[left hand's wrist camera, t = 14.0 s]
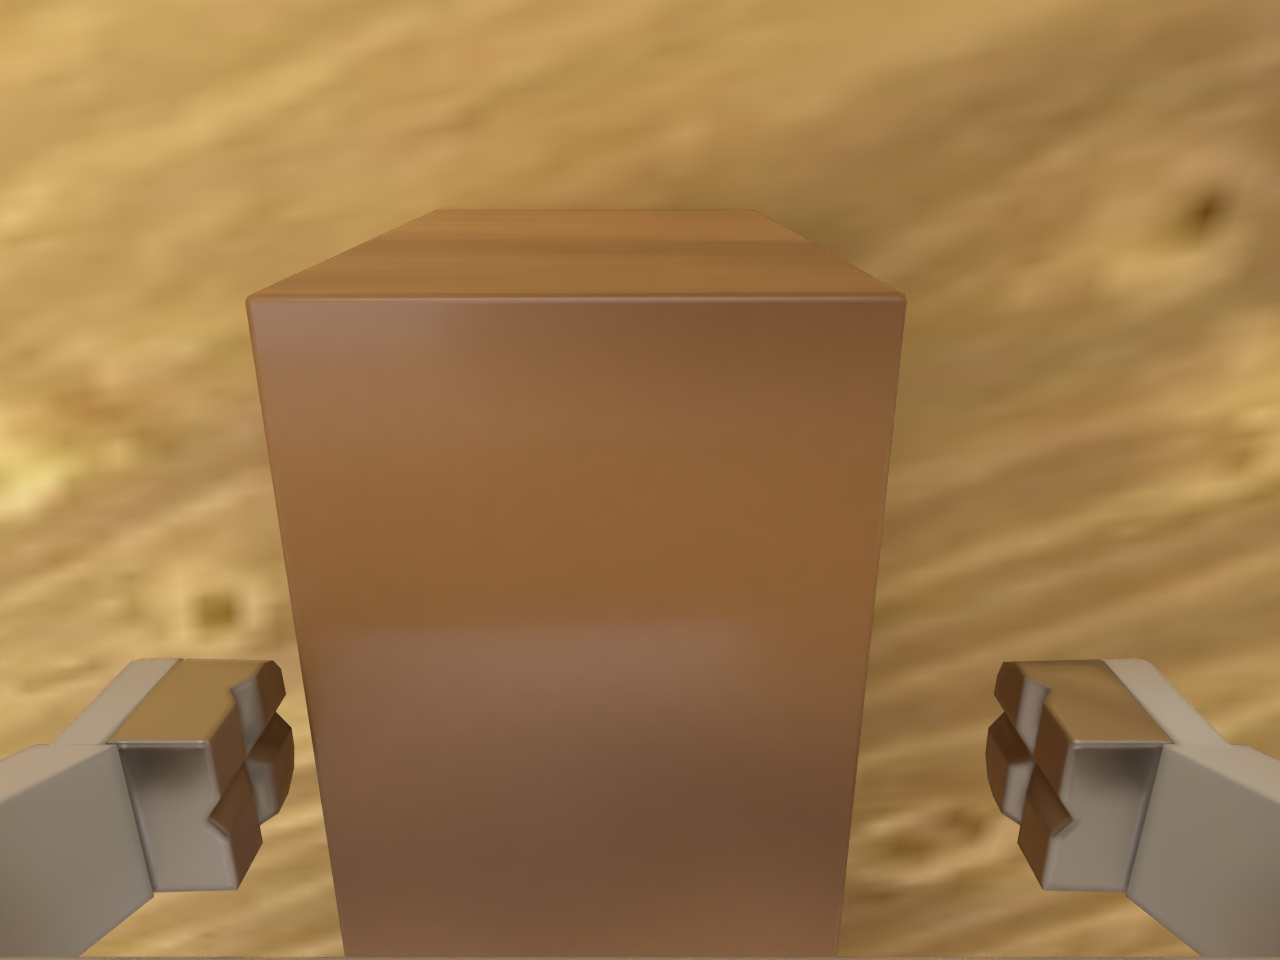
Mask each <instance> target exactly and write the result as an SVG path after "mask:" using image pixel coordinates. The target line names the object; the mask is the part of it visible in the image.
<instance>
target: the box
mask: <svg viewBox="0 0 1280 960" xmlns="http://www.w3.org/2000/svg"><path fill="white" fill-rule="evenodd" d="M245 304H246V310H247V317H248V323H249V330H250V336H251V343H252V349H253V356H254V363H255V369H256V376H257V382H258V389H259V395H260V402H261V409H262V415H263V422H264V428H265V435H266V441H267V448H268V454H269V461H270V468H271V474H272V481H273V487H274V494H275V500H276V507H277V514H278V520H279V527H280V533H281V540H282V546H283V553H284V559H285V566H286V573H287V579H288V586H289V592H290V599H291V605H292V612H293V619H294V625H295V632H296V638H297V645H298V651H299V658H300V664H301V671H302V678H303V684H304V691H305V697H306V704H307V710H308V717H309V723H310V730H311V737H312V743H313V750H314V756H315V763H316V769H317V776H318V783H319V789H320V796H321V802H322V809H323V815H324V822H325V828H326V835H327V842H328V848H329V855H330V861H331V868H332V874H333V881H334V888H335V894H336V901H337V907H338V914H339V920H340V927H341V933H342V940H343V947H344V953H345V957H837V951H838V941H839V932H840V922H841V913H842V904H843V894H844V885H845V875H846V866H847V857H848V847H849V838H850V828H851V819H852V809H853V800H854V791H855V781H856V772H857V762H858V753H859V744H860V734H861V725H862V715H863V706H864V697H865V687H866V678H867V668H868V659H869V649H870V640H871V631H872V621H873V612H874V602H875V593H876V584H877V574H878V565H879V555H880V546H881V537H882V527H883V518H884V508H885V499H886V490H887V480H888V471H889V461H890V452H891V442H892V433H893V424H894V414H895V405H896V395H897V386H898V377H899V367H900V358H901V348H902V339H903V330H904V320H905V311H906V298H905V295H904V294H903V293H901V292H899V291H897V290H896V289H894V288H892V287H890V286H888V285H887V284H885V283H883V282H881V281H880V280H878V279H876V278H874V277H872V276H871V275H869V274H867V273H865V272H864V271H862V270H860V269H858V268H857V267H855V266H853V265H851V264H849V263H848V262H846V261H844V260H842V259H841V258H839V257H837V256H835V255H833V254H832V253H830V252H828V251H826V250H825V249H823V248H821V247H819V246H817V245H816V244H814V243H812V242H810V241H809V240H807V239H805V238H803V237H802V236H800V235H798V234H796V233H794V232H793V231H791V230H789V229H787V228H786V227H784V226H782V225H780V224H778V223H777V222H775V221H773V220H771V219H770V218H768V217H766V216H764V215H762V214H761V213H759V212H757V211H755V210H435V211H433V212H431V213H428V214H426V215H424V216H422V217H420V218H417V219H415V220H413V221H411V222H409V223H407V224H404V225H402V226H400V227H398V228H396V229H393V230H391V231H389V232H387V233H385V234H382V235H380V236H378V237H376V238H374V239H372V240H369V241H367V242H365V243H363V244H361V245H358V246H356V247H354V248H352V249H350V250H348V251H345V252H343V253H341V254H339V255H337V256H334V257H332V258H330V259H328V260H326V261H324V262H321V263H319V264H317V265H315V266H313V267H310V268H308V269H306V270H304V271H302V272H299V273H297V274H295V275H293V276H291V277H289V278H286V279H284V280H282V281H280V282H278V283H275V284H273V285H271V286H269V287H267V288H265V289H262V290H260V291H258V292H256V293H254V294H251V295H249V296H247V299H246V303H245Z"/></svg>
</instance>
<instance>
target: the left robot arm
mask: <svg viewBox="0 0 1280 960" xmlns="http://www.w3.org/2000/svg"><path fill="white" fill-rule="evenodd" d="M285 695H286V692H285V687H284V682H283V677H282V672H281V668H280V667H279V666H278V665H277V664H276V663H275V662H274V661H273V660H222V659H185V660H184V659H181V658H161V659H140V660H135V661H131V662H130V663H129V664H128V665H127V666H126V667H125V668H124V669H123V670H122V672H121V673H120V674H119V675H118V676H117V677H116V678H115V679H114V680H113V681H112V682H111V683H110V684H109V685H108V686H107V687H106V688H105V689H104V690H103V691H102V692H101V693H100V694H99V695H98V696H97V697H96V698H95V699H94V700H93V701H92V702H91V703H90V704H89V705H88V706H87V707H86V708H85V710H84V711H83V712H82V713H81V714H80V715H79V716H78V717H77V718H76V719H75V720H74V721H73V722H72V723H71V724H70V725H69V726H68V727H67V728H66V729H65V730H64V731H63V732H62V733H61V734H60V735H59V736H58V737H57V738H56V739H55V740H54V741H53V742H52V743H51V744H36V745H33V746H31V747H29V748H27V749H25V750H22V751H20V752H18V753H16V754H14V755H11V756H9V757H7V758H5V759H3V760H0V960H1280V761H1279V760H1277V759H1275V758H1273V757H1271V756H1269V755H1266V754H1264V753H1262V752H1260V751H1258V750H1255V749H1253V748H1251V747H1249V746H1247V745H1245V744H1229V743H1228V742H1227V741H1226V740H1225V739H1224V738H1223V737H1222V736H1221V735H1220V734H1219V733H1218V732H1217V731H1216V730H1215V729H1214V728H1213V727H1212V726H1211V725H1210V724H1209V723H1208V722H1207V721H1206V720H1205V719H1204V718H1203V717H1202V716H1201V714H1200V713H1199V712H1198V711H1197V710H1196V709H1195V708H1194V707H1193V706H1192V705H1191V704H1190V703H1189V702H1188V701H1187V700H1186V699H1185V698H1184V697H1183V696H1182V695H1181V694H1180V693H1179V692H1178V691H1177V690H1176V689H1175V688H1174V687H1173V686H1172V685H1171V684H1170V683H1169V682H1168V681H1167V679H1166V678H1165V677H1164V676H1163V675H1162V674H1161V673H1160V672H1159V671H1158V670H1157V669H1156V668H1155V667H1154V666H1153V665H1152V664H1151V663H1150V662H1147V661H1145V660H1142V659H1140V658H1120V659H1094V660H1061V661H1021V662H1003V664H1002V666H1001V668H1000V671H999V673H998V675H997V680H996V686H995V692H994V695H995V697H996V698H997V700H998V701H999V703H1000V705H1001V706H1002V708H1003V710H1004V713H1003V714H1002V715H1001V716H1000V717H999V718H998V719H997V720H996V721H995V722H994V723H993V724H992V725H991V726H990V727H989V728H988V736H987V744H986V752H985V755H986V766H987V777H988V781H989V784H990V788H991V791H992V794H993V797H994V799H995V801H996V803H997V805H998V807H999V809H1000V811H1001V813H1003V814H1004V815H1006V816H1007V817H1009V818H1010V819H1012V820H1013V821H1015V822H1016V823H1018V824H1019V825H1020V831H1019V836H1018V842H1017V843H1018V845H1019V847H1020V848H1021V850H1022V852H1023V854H1024V856H1025V858H1026V859H1027V861H1028V863H1029V865H1030V867H1031V869H1032V871H1033V872H1034V874H1035V876H1036V878H1037V880H1038V882H1039V884H1040V885H1041V887H1042V889H1043V890H1056V891H1092V892H1127V894H1126V897H1128V898H1129V899H1130V900H1131V901H1133V902H1134V903H1135V904H1136V905H1138V906H1139V907H1140V908H1141V909H1143V910H1144V911H1145V912H1146V913H1148V914H1149V915H1150V916H1151V917H1153V918H1154V919H1155V920H1157V921H1158V922H1159V923H1160V924H1162V925H1163V926H1164V927H1165V928H1167V929H1168V930H1169V931H1170V932H1172V933H1173V934H1174V935H1175V936H1177V937H1178V938H1179V939H1180V940H1182V941H1183V942H1184V943H1185V944H1187V945H1188V946H1189V947H1190V948H1192V949H1193V950H1194V951H1195V952H1197V953H1198V954H1199V955H1200V956H1202V957H79V956H80V955H81V954H82V953H84V952H85V951H86V950H87V949H89V948H90V947H91V946H92V945H94V944H95V943H96V942H97V941H99V940H100V939H101V938H103V937H104V936H105V935H106V934H108V933H109V932H110V931H111V930H113V929H114V928H115V927H116V926H118V925H119V924H120V923H121V922H123V921H124V920H125V919H126V918H128V917H129V916H130V915H131V914H133V913H134V912H135V911H136V910H138V909H139V908H140V907H141V906H143V905H144V904H145V903H146V902H148V901H149V900H150V899H152V898H153V896H154V894H153V892H186V891H222V890H237V889H238V887H239V886H240V884H241V882H242V880H243V878H244V876H245V874H246V873H247V871H248V869H249V867H250V865H251V863H252V861H253V860H254V858H255V856H256V854H257V852H258V850H259V848H260V847H261V845H262V843H263V842H262V836H261V831H260V825H261V824H262V823H264V822H265V821H267V820H268V819H270V818H271V817H273V816H274V815H276V814H277V813H279V811H280V809H281V807H282V805H283V803H284V801H285V799H286V797H287V795H288V792H289V787H290V783H291V779H292V774H293V770H294V742H293V735H292V728H291V727H290V726H289V725H288V724H287V723H286V722H285V721H284V720H283V719H282V718H281V717H280V716H279V715H278V714H277V712H276V710H277V708H278V706H279V705H280V703H281V701H282V700H283V698H284V697H285Z"/></svg>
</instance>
